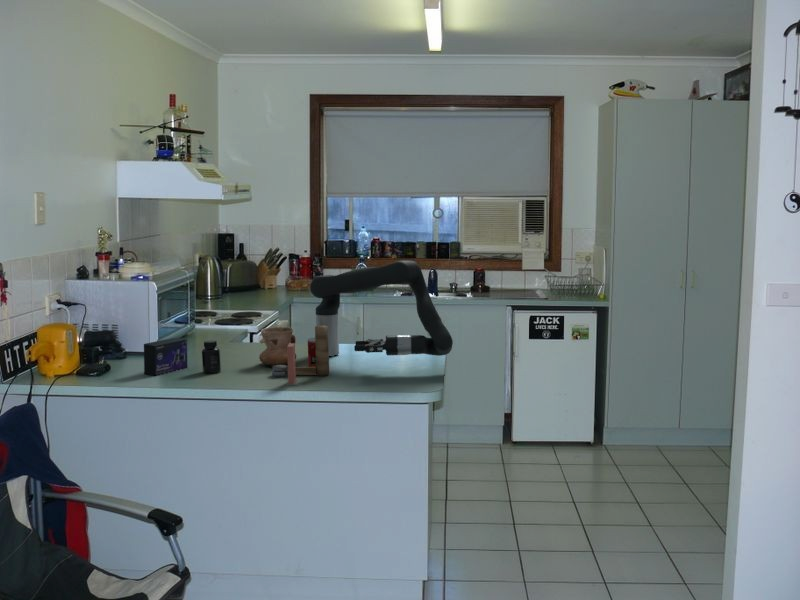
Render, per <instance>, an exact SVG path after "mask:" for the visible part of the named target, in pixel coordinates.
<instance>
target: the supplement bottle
mask: <svg viewBox="0 0 800 600" xmlns="http://www.w3.org/2000/svg"><path fill="white" fill-rule="evenodd" d="M217 343H218V342H217V340H211V339H210V340H204V341H203V347H204V348H203V349H202V350H201V361H202V372H203V374H205V373H206V375H212V374H213V375H214V373H215V374H219V373H220V372H222V365H221V350H220V348H219V347H217V346H218V344H217Z"/></svg>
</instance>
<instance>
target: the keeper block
mask: <svg viewBox="0 0 800 600" xmlns="http://www.w3.org/2000/svg"><path fill="white" fill-rule="evenodd" d="M295 353H296V342H295V343H291V342H290V343H289V345H288V346H287V358H288V365H287V366H288V376H287V380H288V381H287V383H286V386H287V387H288V386H289V387H290V386H292V387H293V386H296V384H298V379H297V377H296V376H297V375H296V367H297V366H296V360H295Z"/></svg>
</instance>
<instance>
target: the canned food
mask: <svg viewBox="0 0 800 600" xmlns="http://www.w3.org/2000/svg"><path fill="white" fill-rule="evenodd" d="M307 358H308V359H307V360H308V361H307V362H308V363H307V364H308V367H316V345H315V337H310V338H308V339H307Z"/></svg>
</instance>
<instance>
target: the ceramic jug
mask: <svg viewBox="0 0 800 600" xmlns="http://www.w3.org/2000/svg"><path fill="white" fill-rule="evenodd" d="M293 331H294V328H293V327H289V326H272V327H270V326H269V327H266V328H262V329H261V331H260V332H261V337H262V338H261V339H259V343H260V344H265V346H266V348H265V349H264V350H263V351H261V353H260V354H259V361H260V362H261V363H262V364H264V365H266V366H269V367H273V366H276V365H286V366H288V358H287V346H288V345H289V343H295V344H296V342H297V341H296V336H295V334H293ZM296 360H297V353H296V352H295V361H296Z"/></svg>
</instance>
